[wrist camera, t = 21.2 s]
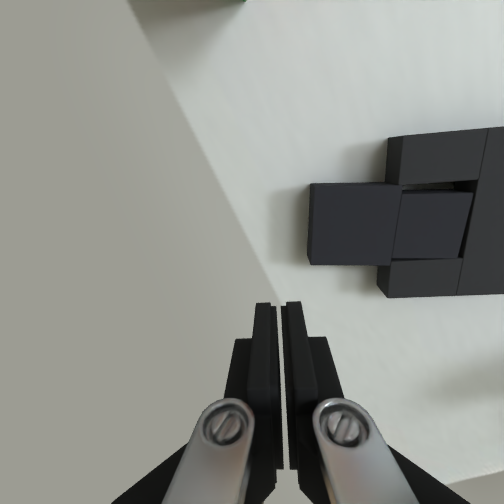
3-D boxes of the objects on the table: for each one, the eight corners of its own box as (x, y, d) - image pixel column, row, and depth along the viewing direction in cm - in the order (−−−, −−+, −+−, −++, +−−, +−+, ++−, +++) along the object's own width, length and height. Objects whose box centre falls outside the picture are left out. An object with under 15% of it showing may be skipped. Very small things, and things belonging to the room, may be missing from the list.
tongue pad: (306, 254, 27) (310, 265, 24) (310, 183, 25) (314, 186, 22) (437, 255, 26) (455, 266, 23) (453, 180, 24) (476, 184, 21)
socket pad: (376, 284, 28) (387, 298, 25) (388, 137, 23) (402, 135, 20) (502, 279, 26) (527, 293, 24) (541, 123, 22) (579, 119, 19)
